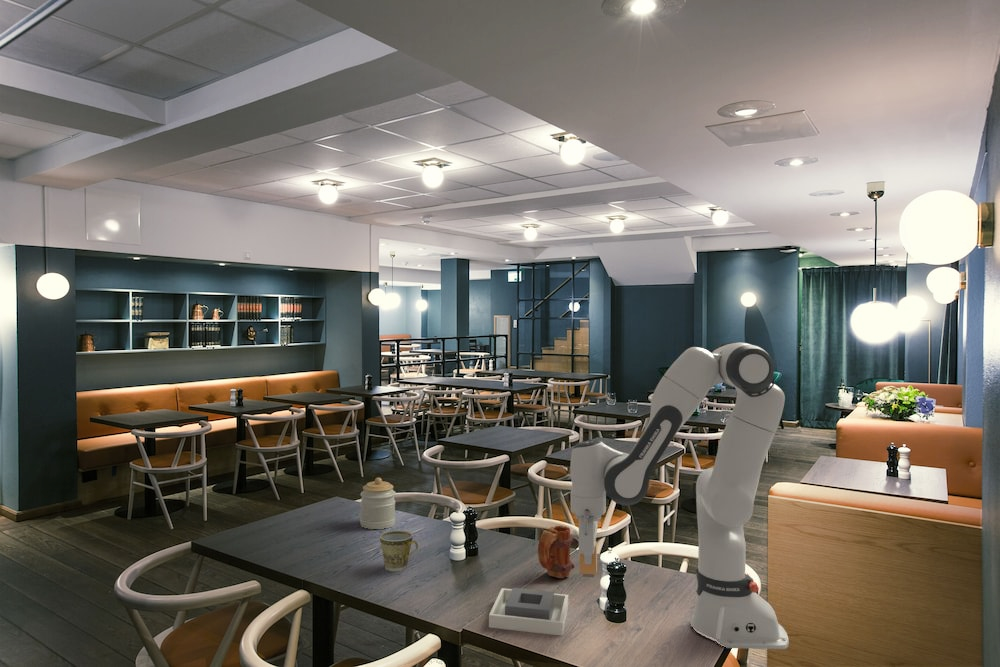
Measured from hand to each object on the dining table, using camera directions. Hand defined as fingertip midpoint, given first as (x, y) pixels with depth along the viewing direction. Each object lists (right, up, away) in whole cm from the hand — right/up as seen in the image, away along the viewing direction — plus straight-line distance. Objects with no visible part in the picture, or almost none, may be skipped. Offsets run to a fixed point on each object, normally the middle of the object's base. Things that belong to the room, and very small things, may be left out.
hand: (588, 559), depth 156 cm
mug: (-6, -16, +28) cm, 33 cm away
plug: (0, -4, 0) cm, 4 cm away
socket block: (-15, -15, +1) cm, 21 cm away
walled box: (-15, -16, +1) cm, 22 cm away
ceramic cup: (-53, -15, +33) cm, 65 cm away
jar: (-68, -15, +75) cm, 102 cm away
